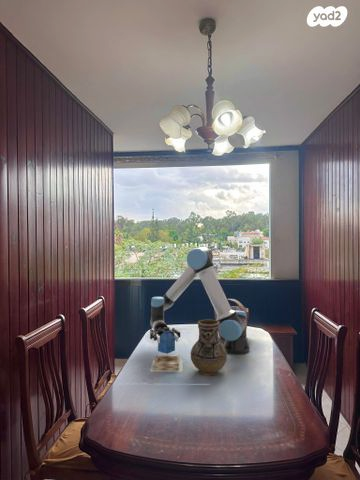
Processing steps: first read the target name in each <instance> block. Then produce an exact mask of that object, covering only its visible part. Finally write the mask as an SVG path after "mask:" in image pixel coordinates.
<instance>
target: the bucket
mask: <svg viewBox="0 0 360 480" xmlns="http://www.w3.org/2000/svg"><path fill="white" fill-rule="evenodd" d="M227 301H231V302H234V303H235V304H236V305H235V306H234V305H230V307H231V309H232V310H237V311H244V312H246V316H247V318H246V330H247V329H248V323H249V318H250V313H249V308H247V307H245V306H244V305H243V304H242V303H241V302H240V301H238V300H237V299H235V298H227ZM213 309H214V308H213ZM213 311H214V320H216V319H217V313H216V311H215V309H214V310H213ZM218 326H219V325H218ZM219 327H220V326H219ZM219 327H218V336H220V340H223V341H224V342H225V339H224V338H223V337H222V336H221V335H220V332H219Z"/></svg>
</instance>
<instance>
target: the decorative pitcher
mask: <svg viewBox="0 0 360 480" xmlns="http://www.w3.org/2000/svg"><path fill="white" fill-rule="evenodd" d="M218 325H219V321H217V320H216V319H211V318H207V319H200V320H198V321H197V328H198V339H197V341H196V342H195V343H194V345H193V346H192V348H191V350H190V361H191V362H192V364H193V366H194V367H195V368H196V369H197V370H198V373H199V374H201V375H205V376H215V375H217V374H219V371H220V370H222V369H223V367H224V366H225V364H226V362H227V359H228V352H226V350H225V348H224V344H222V343H223V342H221V340H220V341H219V339H218V336H219V334H218V327H219V326H218Z"/></svg>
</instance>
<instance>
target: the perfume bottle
mask: <svg viewBox="0 0 360 480" xmlns="http://www.w3.org/2000/svg"><path fill="white" fill-rule="evenodd" d="M169 329H171V328H170V326H167V327H164V330H163V332H164V334H161V335H160V336H159V337H160V343H158V342H157V352H160V353H162V354H165V355H166V354H168V355H169V354H171V353H172V352H175V351H176V340H175V338H174V336H173V335H172V334H170V333H169V332H170V330H169Z"/></svg>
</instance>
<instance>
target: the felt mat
mask: <svg viewBox="0 0 360 480" xmlns="http://www.w3.org/2000/svg"><path fill="white" fill-rule="evenodd" d="M154 362H155V359H153V360H152V364H151V367H150V370H149V372H150V373H182V372H183V369H184V368H183V367H184V365H183V364H184V360H183V359H179V370H154Z"/></svg>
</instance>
